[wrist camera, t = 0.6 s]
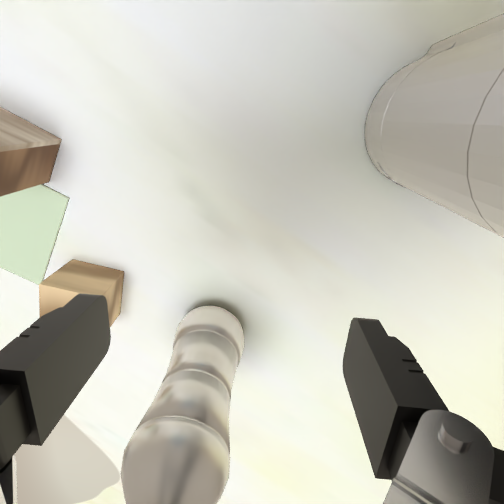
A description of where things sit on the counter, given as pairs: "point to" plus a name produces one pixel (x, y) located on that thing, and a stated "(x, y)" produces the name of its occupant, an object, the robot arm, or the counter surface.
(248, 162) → the counter surface
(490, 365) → the counter surface
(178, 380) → the plastic bottle
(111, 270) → the oak block
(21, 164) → the walnut block
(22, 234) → the pad
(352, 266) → the counter surface
